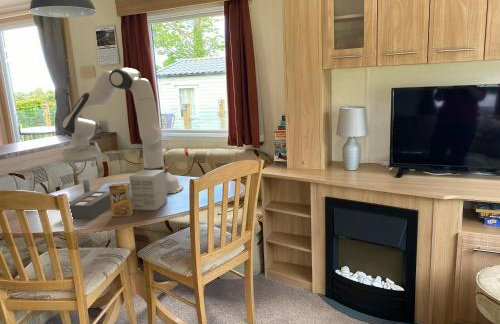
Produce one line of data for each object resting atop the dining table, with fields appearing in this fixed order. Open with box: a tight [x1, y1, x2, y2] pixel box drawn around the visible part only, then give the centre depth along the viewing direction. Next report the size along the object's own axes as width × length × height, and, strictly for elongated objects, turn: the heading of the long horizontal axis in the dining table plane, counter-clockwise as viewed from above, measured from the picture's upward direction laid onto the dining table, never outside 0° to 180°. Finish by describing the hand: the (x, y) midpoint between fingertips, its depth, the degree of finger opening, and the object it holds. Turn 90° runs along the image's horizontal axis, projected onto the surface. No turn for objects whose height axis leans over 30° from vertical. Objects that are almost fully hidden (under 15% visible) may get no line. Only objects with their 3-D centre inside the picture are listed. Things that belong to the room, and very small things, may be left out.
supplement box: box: [128, 169, 168, 211], centre depth 195 cm, size 13×13×18 cm
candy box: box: [108, 182, 134, 217], centre depth 184 cm, size 9×4×15 cm, turn 89°
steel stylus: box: [82, 178, 91, 194], centre depth 209 cm, size 3×3×12 cm
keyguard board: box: [68, 190, 111, 221], centre depth 192 cm, size 14×22×7 cm, turn 171°
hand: (84, 167), depth 218 cm, fingers open, 8 cm apart
